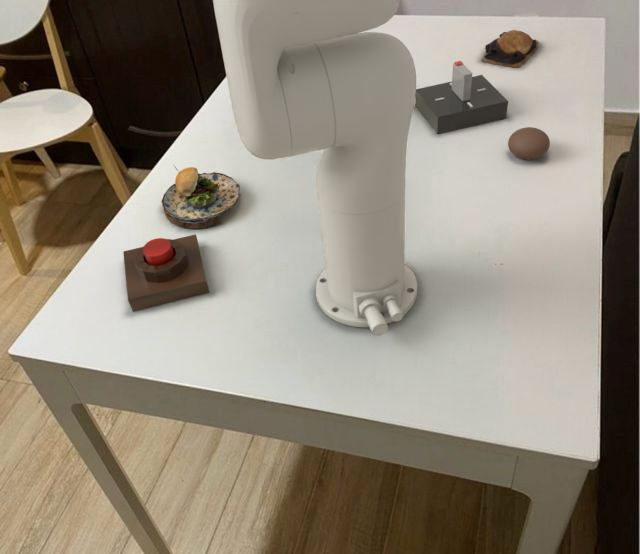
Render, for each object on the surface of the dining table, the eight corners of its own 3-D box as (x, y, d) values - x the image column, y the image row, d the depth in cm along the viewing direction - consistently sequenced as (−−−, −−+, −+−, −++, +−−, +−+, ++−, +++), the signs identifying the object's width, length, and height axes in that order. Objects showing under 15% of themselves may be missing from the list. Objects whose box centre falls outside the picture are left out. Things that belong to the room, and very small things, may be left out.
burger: (227, 232, 93) (216, 188, 88) (151, 226, 96) (136, 183, 90) (252, 183, 101) (244, 140, 95) (181, 179, 103) (169, 136, 98)
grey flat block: (470, 100, 106) (472, 71, 103) (462, 101, 106) (464, 73, 103) (459, 87, 109) (461, 59, 106) (451, 89, 109) (453, 61, 106)
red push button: (175, 262, 84) (172, 252, 83) (147, 269, 84) (143, 258, 82) (172, 245, 86) (169, 235, 85) (145, 252, 86) (141, 241, 85)
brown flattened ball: (553, 150, 100) (558, 126, 97) (537, 170, 97) (542, 146, 94) (516, 140, 102) (520, 117, 99) (499, 159, 99) (502, 135, 96)
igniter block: (209, 293, 85) (202, 269, 82) (132, 312, 84) (123, 289, 81) (199, 246, 92) (192, 223, 89) (128, 263, 90) (118, 240, 88)
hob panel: (506, 118, 107) (508, 100, 105) (437, 134, 106) (438, 116, 103) (480, 91, 114) (481, 73, 112) (415, 105, 112) (415, 88, 110)
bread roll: (500, 38, 127) (502, 18, 125) (542, 45, 124) (545, 25, 121) (476, 61, 122) (478, 41, 119) (520, 69, 118) (523, 48, 115)
